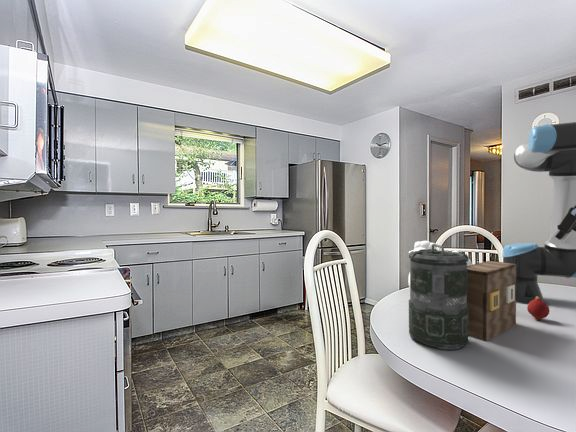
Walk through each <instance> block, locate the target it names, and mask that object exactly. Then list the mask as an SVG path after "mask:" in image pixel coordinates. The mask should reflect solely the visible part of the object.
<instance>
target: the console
mask: <svg viewBox="0 0 576 432" xmlns="http://www.w3.org/2000/svg"><path fill="white" fill-rule="evenodd" d="M510 284H514V285H515V301H513V302H510V303H506V286H507V285H510ZM494 290H499V308H498V309H495V310H493V311H490V292H491V291H494ZM467 308H468V309H469V335H468V337H472V338H476V339H478V340H481V341H485V342H488V341H490V340H491V339H493V338H495V337H496V336H497V335H500V334H502V333H503V332H504V331H507V330H508V329H510V328H512V327H513V326H515V325H517V302H516V264H512V263H504V262H503V261H496V260H495V261H494V260H493V261H492V260H486V261H482V262H479V263H474V264H473V265H470V266H467Z"/></svg>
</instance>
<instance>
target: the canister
mask: <svg viewBox="0 0 576 432" xmlns="http://www.w3.org/2000/svg"><path fill="white" fill-rule="evenodd" d="M434 246H436V247H437V249H434ZM438 248H440V249H441V250H438ZM410 251H411V252H410V253H409V252H408V258H409V259H410V261H409V273H410V288H409V291H410V294H409V296H410V297H409V299H408V333H409V336H410V337H411V339H412V340H414V341H417V342H420V343H421V344H424V345H426V346H429V347H433V348H436V349H437V350H443V351H444V350H445V351H453V350H460V348H461V347H465V346H466V345H468V344H469V336H468V335H469V309H468V308H467V263H466V262H467V261H468V259H470V257H469V255H468V254H466V253H465V252H461V251H458V252H459V253H457V252H452V251H448V250H445V247H444V246H443V245H440V244H436V243H435V244H432V249H420V250H419V251H414V252H413V251H412V250H410Z"/></svg>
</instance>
